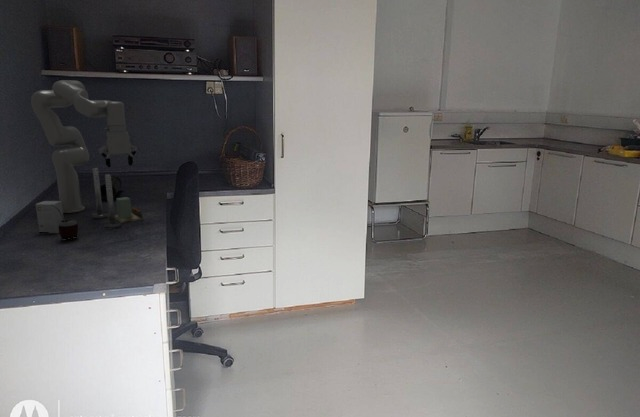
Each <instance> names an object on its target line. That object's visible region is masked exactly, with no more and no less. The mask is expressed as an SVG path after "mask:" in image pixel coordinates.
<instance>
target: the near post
mask: <svg viewBox="0 0 640 417" xmlns="http://www.w3.org/2000/svg"><path fill="white" fill-rule="evenodd" d="M111 175H112V174H110V173H105V174H104V181H106V192H107V200H106V201H107V209H108V210H107V211H108V212H107V213H108V222H104V224H103V227H105V228H116V229H119V228H121V227H122V223H121V222H119V221H116V219H115V215H116V214H115V204H114V198H113V193H112V182H111ZM105 228H104V229H105Z"/></svg>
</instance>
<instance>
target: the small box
mask: <svg viewBox="0 0 640 417" xmlns="http://www.w3.org/2000/svg"><path fill="white" fill-rule="evenodd" d="M51 204H52V205H54V206H56V207H57V208H58V209H59V210H60V212H61V214H62V216H63V218H64V213H63V210H62V202H61V201H60V200H43V201H40V202H38V203H35V210H36V218H37V224H38V231H39V232H49V233H48V234H59V233H60V232H59V223H60V222H61V221H62V220H63V219H62V217H61V215H60V213H59V212H58V210H57V209H56V208H55V207H54V206H52V205H51ZM64 219H65V218H64ZM58 232H59V233H58Z"/></svg>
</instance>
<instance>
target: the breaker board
mask: <svg viewBox="0 0 640 417" xmlns="http://www.w3.org/2000/svg"><path fill="white" fill-rule="evenodd" d="M131 212H132V217H130V218H124V219H121V218H119V217H118V214H115V221H117V222H121V224H123V223H129V222H135V221H143V220H144V218H143V214H142V211H141V210H139V209H137V208H136V207H132V209H131Z"/></svg>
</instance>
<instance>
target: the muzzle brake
mask: <svg viewBox="0 0 640 417" xmlns="http://www.w3.org/2000/svg"><path fill="white" fill-rule="evenodd" d="M111 182H112V193H113V199H114V198H115V197H116V195H117V193H118V192H119V190H120V189H121V188H122V187H123V181H122V178H121V177H120V176H118V175H116V174H111ZM100 192H101V199H103V200H106V201H107V192H106V181H105V180H104V181H103V182H102V184H100Z"/></svg>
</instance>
